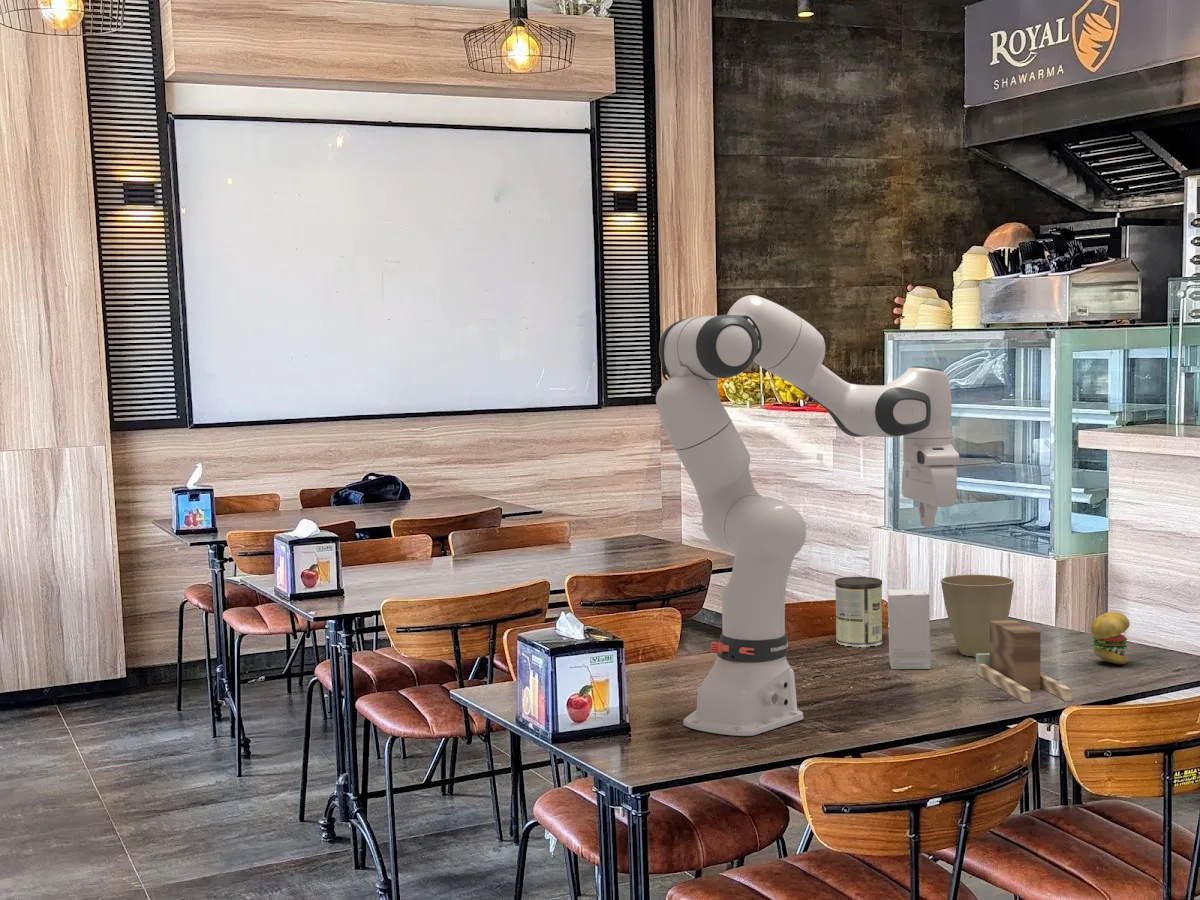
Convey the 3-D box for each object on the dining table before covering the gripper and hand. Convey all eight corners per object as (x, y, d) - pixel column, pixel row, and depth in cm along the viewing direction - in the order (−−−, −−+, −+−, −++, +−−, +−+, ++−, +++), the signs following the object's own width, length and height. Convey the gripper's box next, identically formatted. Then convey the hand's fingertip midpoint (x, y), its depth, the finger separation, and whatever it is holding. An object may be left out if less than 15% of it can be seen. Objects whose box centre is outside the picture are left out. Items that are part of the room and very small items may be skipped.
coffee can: (841, 636, 296) (841, 575, 295) (886, 640, 291) (886, 577, 290) (830, 646, 286) (829, 582, 285) (877, 649, 282) (876, 584, 281)
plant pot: (984, 644, 285) (984, 572, 284) (1029, 657, 271) (1029, 582, 270) (926, 650, 280) (926, 577, 279) (968, 664, 266) (968, 587, 265)
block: (1040, 689, 245) (1040, 632, 244) (1014, 690, 244) (1014, 633, 244) (1014, 675, 257) (1014, 620, 256) (989, 676, 256) (989, 620, 255)
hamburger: (1137, 667, 261) (1137, 608, 260) (1106, 669, 259) (1106, 610, 259) (1113, 658, 269) (1113, 601, 268) (1082, 661, 267) (1083, 603, 266)
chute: (1071, 701, 236) (1071, 689, 236) (1024, 703, 235) (1024, 691, 235) (1021, 673, 258) (1021, 662, 258) (978, 674, 257) (978, 663, 257)
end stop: (1021, 673, 258) (1021, 653, 257) (978, 674, 257) (978, 655, 257) (1019, 671, 259) (1019, 651, 259) (975, 673, 258) (975, 653, 258)
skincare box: (929, 663, 268) (928, 588, 267) (931, 670, 261) (931, 593, 260) (887, 662, 269) (887, 587, 268) (888, 669, 263) (888, 593, 262)
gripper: (893, 450, 254) (893, 520, 255) (929, 456, 233) (929, 533, 234) (925, 449, 254) (925, 519, 255) (963, 456, 234) (963, 532, 235)
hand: (927, 526), depth 245 cm, fingers closed
